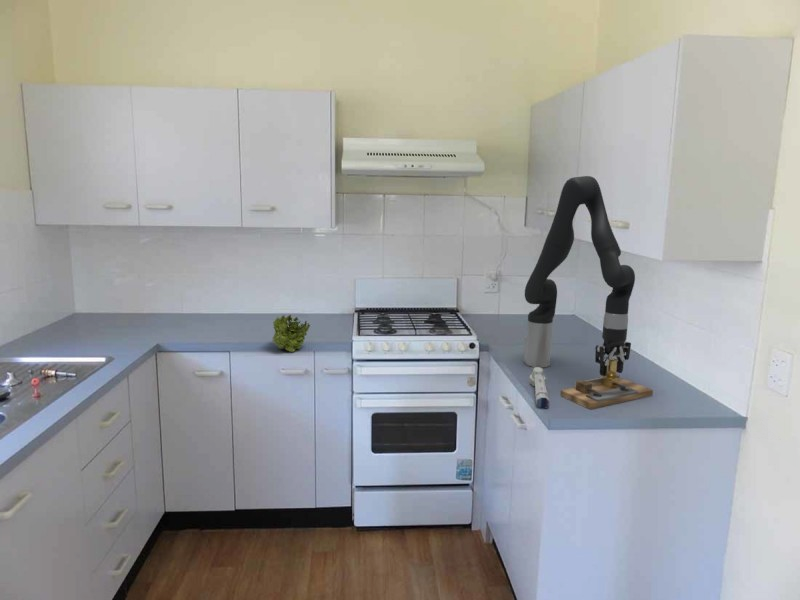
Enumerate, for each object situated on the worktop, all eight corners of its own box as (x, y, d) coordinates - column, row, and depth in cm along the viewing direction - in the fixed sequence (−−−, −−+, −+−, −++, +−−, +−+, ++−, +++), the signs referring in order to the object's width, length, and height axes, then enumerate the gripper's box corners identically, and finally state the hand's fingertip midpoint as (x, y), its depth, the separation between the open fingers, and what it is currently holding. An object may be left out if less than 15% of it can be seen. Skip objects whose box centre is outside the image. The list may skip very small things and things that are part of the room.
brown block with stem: (575, 389, 186) (576, 381, 185) (582, 388, 187) (583, 379, 187) (593, 397, 179) (594, 388, 178) (600, 396, 180) (601, 387, 180)
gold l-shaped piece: (601, 384, 191) (604, 358, 190) (608, 382, 193) (611, 357, 191) (620, 391, 184) (623, 365, 183) (627, 390, 186) (630, 363, 184)
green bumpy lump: (261, 334, 240) (287, 307, 245) (288, 359, 242) (314, 332, 247) (263, 330, 223) (291, 301, 228) (292, 357, 225) (319, 328, 230)
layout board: (560, 395, 186) (561, 384, 185) (621, 383, 199) (622, 372, 198) (590, 409, 175) (591, 397, 174) (652, 395, 187) (653, 384, 187)
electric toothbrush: (534, 396, 175) (530, 362, 198) (533, 415, 177) (528, 379, 200) (552, 398, 174) (545, 363, 197) (550, 417, 176) (544, 380, 199)
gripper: (621, 321, 193) (617, 368, 196) (590, 325, 186) (586, 373, 190) (639, 326, 186) (635, 374, 190) (608, 330, 180) (604, 380, 183)
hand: (611, 373), depth 190 cm, fingers open, 6 cm apart
